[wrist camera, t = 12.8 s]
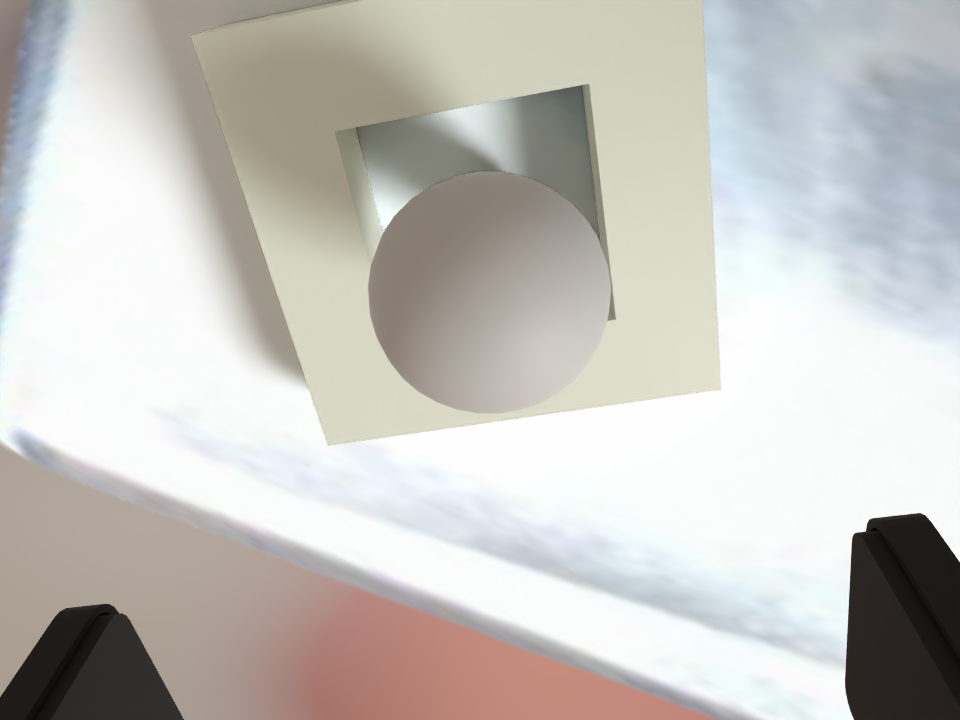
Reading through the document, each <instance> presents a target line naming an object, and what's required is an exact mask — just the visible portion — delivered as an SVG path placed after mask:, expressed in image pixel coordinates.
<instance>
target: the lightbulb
mask: <svg viewBox="0 0 960 720" xmlns="http://www.w3.org/2000/svg"><path fill="white" fill-rule="evenodd" d="M610 294H611V285H610V277H609V269H608V264H607V262H606V259H605V256H604V253H603V250H602V247H601V245H600V242H599V239H598V237H597V235H596V233H595V232H594V230H593V229H592V227H591V225H590V224H589V222H588V221H587V219H586V218H585V217H584V216H583V214H582V213H581V212H580V211H579V210H578V209H577V208H576V207H575V206H574V205H573V204H572V203H571V202H570V201H569V200H567V199H566V198H564V197H563V196H561V195H560V194H559V193H557V192H556V191H554V190H553V189H551V188H550V187H548V186H546V185H544V184H542V183H539V182H537V181H535V180H532V179H530V178H527V177H525V176H521V175H516V174H511V173H506V172H493V171H478V172H473V173H468V174H463V175H457V176H454V177H452V178H450V179H447V180H445V181H442V182H440V183H437V184H435V185H433V186H431V187H429V188H428V189H426V190H425V191H423V192H422V193H420V194H419V195H417V196H416V197H414V198H413V199H411V200H410V201H409V202H408V203H407V204H406V205H405V206H404V207H403V208H402V209H401V210H400V211H399V212H398V213H397V214H396V215H395V216H394V218H393V219H392V221H391V222H390V224H389V225H388V227H387V228H386V230H385V232H384V233H383V235H382V237H381V239H380V242H379V244H378V247H377V250H376V252H375V255H374V258H373V260H372V263H371V268H370V275H369V282H368V295H369V308H370V316H371V320H372V324H373V327H374V330H375V334H376V337H377V339H378V341H379V343H380V345H381V347H382V349H383V351H384V352H385V354H386V356H387V358H388V360H389V361H390V363H391V364H392V366H393V367H394V368H395V369H396V371H397V372H398V373H399V374H400V375H401V377H402V378H403V379H404V380H405V381H406V382H408V383H409V384H410V385H411V386H412V387H414V388H415V389H416V390H417V391H418V392H420V393H421V394H423V395H425V396H427V397H428V398H430V399H432V400H434V401H435V402H437V403H440V404H443V405H446V406H448V407H451V408H454V409H457V410H462V411H468V412H473V413H489V414H498V413H505V412H511V411H518V410H521V409H524V408H527V407H530V406H533V405H536V404H539V403H541V402H543V401H545V400H547V399H548V398H550V397H552V396H554V395H556V394H558V393H559V392H560V391H561V390H562V389H564V388H565V387H566V386H567V385H569V384H570V383H571V382H572V381H574V379H575V378H576V377H577V376H578V375H579V374H580V372H581V371H582V370H583V369H584V368H585V366H586V365H587V364H588V362H589V361H590V359H591V357H592V355H593V354H594V352H595V350H596V348H597V346H598V345H599V343H600V341H601V339H602V336H603V332H604V329H605V326H606V323H607V320H608V314H609V306H610Z"/></svg>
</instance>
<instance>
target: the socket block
mask: <svg viewBox="0 0 960 720" xmlns="http://www.w3.org/2000/svg"><path fill="white" fill-rule="evenodd" d="M191 39H192V42H193V45H194V48H195V51H196V54H197V57H198V60H199V63H200V66H201V69H202V72H203V75H204V78H205V81H206V83H207V86H208V89H209V92H210V95H211V98H212V101H213V104H214V107H215V110H216V113H217V116H218V119H219V122H220V125H221V128H222V131H223V134H224V137H225V140H226V143H227V146H228V149H229V152H230V155H231V158H232V161H233V164H234V167H235V170H236V173H237V176H238V179H239V182H240V185H241V188H242V191H243V194H244V197H245V200H246V203H247V206H248V209H249V212H250V215H251V218H252V221H253V224H254V227H255V230H256V233H257V236H258V239H259V242H260V245H261V248H262V251H263V254H264V257H265V260H266V263H267V266H268V269H269V272H270V275H271V278H272V281H273V284H274V287H275V290H276V293H277V296H278V299H279V301H280V304H281V307H282V310H283V313H284V316H285V319H286V322H287V325H288V328H289V331H290V334H291V337H292V340H293V343H294V346H295V349H296V352H297V355H298V358H299V361H300V364H301V367H302V370H303V373H304V376H305V379H306V382H307V385H308V388H309V391H310V394H311V397H312V400H313V403H314V406H315V409H316V412H317V415H318V418H319V421H320V424H321V427H322V430H323V433H324V436H325V439H326V442H327V445H328V446H329V445H336V444H343V443H350V442H357V441H364V440H371V439H378V438H385V437H392V436H399V435H406V434H413V433H420V432H427V431H433V430H440V429H447V428H454V427H461V426H468V425H475V424H482V423H489V422H496V421H503V420H510V419H517V418H524V417H531V416H538V415H545V414H552V413H559V412H566V411H573V410H580V409H587V408H594V407H601V406H608V405H615V404H622V403H629V402H636V401H643V400H650V399H657V398H664V397H671V396H678V395H685V394H692V393H699V392H706V391H713V390H720V389H721V383H720V361H719V340H718V318H717V296H716V275H715V253H714V231H713V210H712V188H711V166H710V145H709V123H708V101H707V79H706V58H705V36H704V14H703V0H343V1H339V2H334V3H329V4H324V5H319V6H314V7H309V8H305V9H300V10H295V11H290V12H285V13H280V14H276V15H271V16H266V17H261V18H256V19H251V20H246V21H242V22H237V23H232V24H227V25H223V26H220V27H217V28H213V29H210V30H207V31H204V32H201V33H198V34H195V35H191ZM580 85H582V90H583V99H584V107H585V116H586V124H587V133H588V141H589V149H590V158H591V166H592V175H593V183H594V192H595V200H596V209H597V217H598V226H599V234H600V242H601V247H602V250H603V253H604V256H605V259H606V262H607V264H608V269H609V277H610V285H611V294H610V306H609V314H608V320H607V323H606V326H605V329H604V332H603V336H602V339H601V341H600V343H599V345H598V346H597V348H596V350H595V352H594V354H593V355H592V357H591V359H590V361H589V362H588V364H587V365H586V366H585V368H584V369H583V370H582V371H581V372H580V374H579V375H578V376H577V377H576V378H575V379H574V381H572V382H571V383H570V384H569V385H567V386H566V387H565V388H564V389H562V390H561V391H560V392H559V393H558V394H556V395H554V396H552V397H550V398H548V399H547V400H545V401H543V402H541V403H539V404H536V405H533V406H530V407H527V408H524V409H521V410H518V411H511V412H505V413H498V414H489V413H473V412H468V411H462V410H457V409H454V408H451V407H448V406H446V405H443V404H440V403H437V402H435V401H434V400H432V399H430V398H428V397H427V396H425V395H423V394H421V393H420V392H418V391H417V390H416V389H415V388H414V387H412V386H411V385H410V384H409V383H408V382H406V381H405V380H404V379H403V378H402V377H401V375H400V374H399V373H398V372H397V371H396V369H395V368H394V367H393V366H392V364H391V363H390V361H389V360H388V358H387V356H386V354H385V352H384V351H383V349H382V347H381V345H380V343H379V341H378V339H377V337H376V334H375V330H374V327H373V324H372V320H371V316H370V308H369V295H368V282H369V275H370V268H371V263H372V260H373V258H374V255H375V252H376V250H377V247H378V244H379V242H380V239H381V237H382V235H383V233H382V229H381V225H380V221H379V217H378V214H377V210H376V206H375V202H374V198H373V194H372V190H371V186H370V182H369V178H368V174H367V170H366V167H365V163H364V159H363V155H362V151H361V147H360V143H359V139H358V135H357V131H356V127H362V126H367V125H372V124H378V123H383V122H388V121H394V120H399V119H404V118H410V117H415V116H420V115H425V114H431V113H436V112H441V111H447V110H452V109H457V108H463V107H468V106H473V105H479V104H484V103H489V102H495V101H500V100H505V99H511V98H516V97H521V96H527V95H532V94H537V93H543V92H548V91H553V90H559V89H564V88H569V87H575V86H580Z"/></svg>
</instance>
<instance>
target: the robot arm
mask: <svg viewBox="0 0 960 720" xmlns="http://www.w3.org/2000/svg"><path fill="white" fill-rule="evenodd" d="M845 688H846V695H847V700H848V704H849V707H850V711H851V713H852V716H853V718H854V720H960V562H959V561H958V559H957V558H956V556H955V555H954V554H953V552H952V551H951V549H950V548H949V546H948V545H947V544H946V542H945V541H944V539H943V538H942V537H941V535H940V534H939V532H938V531H937V530H936V528H935V527H934V525H933V524H932V523H931V521H930V520H929V519H928V518H927V517H926V516H925V515H923V514H921V513H917V514H908V515H899V516H890V517H881V518H873V519H870V520H869V521H868V523H867V528H866V532H860V533H854V535H853V539H852V553H851V573H850V593H849V614H848V634H847V654H846V675H845ZM0 720H184V719H183V717H182V715H181V713H180V712H179V710H178V708H177V706H176V704H175V702H174V701H173V699H172V697H171V695H170V693H169V691H168V690H167V688H166V686H165V684H164V682H163V680H162V679H161V677H160V675H159V673H158V671H157V669H156V668H155V666H154V664H153V663H152V660H151V658H150V657H149V655H148V653H147V651H146V649H145V648H144V645H143V644H142V642H141V640H140V638H139V636H138V635H137V633H136V631H135V629H134V627H133V625H132V624H131V622H130V620H129V619H128V617H127V616H126V615H124V614H119V612H118V611H117V610H116V609H115V607H113V606H111V605H109V604H101V605H92V606H82V607H74V608H66V609H64V610H62V611H60V612H59V613H58V614H57V615H56V617H55V618H54V619H53V620H52V622H51V623H50V625H49V626H48V628H47V629H46V631H45V632H44V634H43V635H42V637H41V638H40V640H39V641H38V642H37V644H36V646H35V647H34V648H33V650H32V651H31V653H30V654H29V656H28V657H27V659H26V660H25V662H24V663H23V665H22V666H21V667H20V669H19V670H18V672H17V673H16V675H15V677H14V678H13V679H12V681H11V682H10V684H9V685H8V687H7V688H6V690H5V691H4V692H3V694H2V695H1V697H0Z"/></svg>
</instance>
